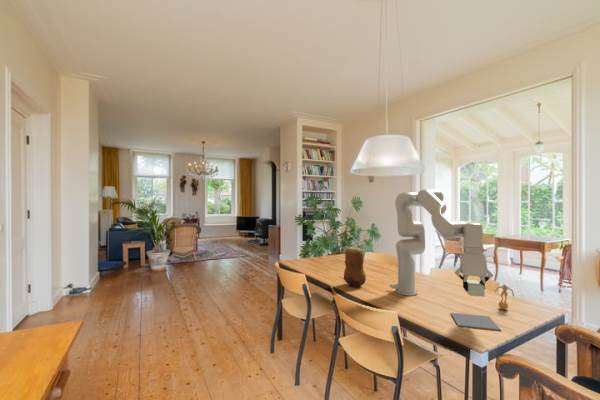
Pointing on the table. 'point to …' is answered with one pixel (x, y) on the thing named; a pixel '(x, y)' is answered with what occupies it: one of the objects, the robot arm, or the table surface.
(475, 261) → the robot arm
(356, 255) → the brown tall rounded piece
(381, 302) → the table surface
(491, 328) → the mat
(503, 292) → the figurine
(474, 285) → the card box
